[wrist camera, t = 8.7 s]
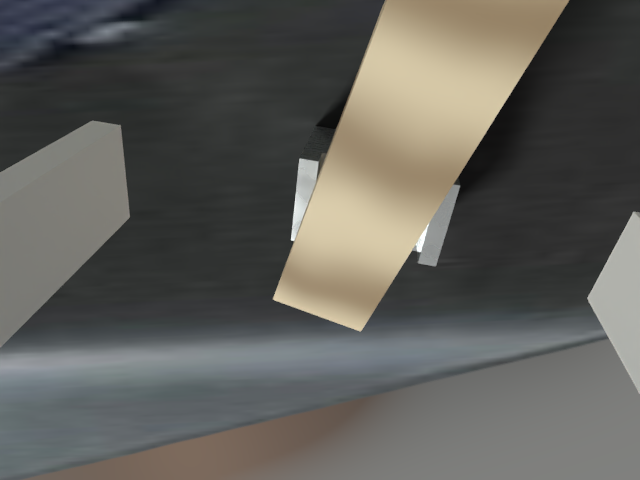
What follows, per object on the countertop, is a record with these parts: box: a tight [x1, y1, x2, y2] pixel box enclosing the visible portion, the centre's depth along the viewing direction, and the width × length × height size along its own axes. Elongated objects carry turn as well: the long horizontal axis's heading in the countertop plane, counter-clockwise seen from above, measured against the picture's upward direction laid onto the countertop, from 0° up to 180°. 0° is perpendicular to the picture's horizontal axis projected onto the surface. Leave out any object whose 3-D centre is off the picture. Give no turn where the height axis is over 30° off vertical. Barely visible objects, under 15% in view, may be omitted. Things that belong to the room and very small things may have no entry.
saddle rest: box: [291, 126, 460, 266], centre depth 34 cm, size 10×6×6 cm, turn 83°
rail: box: [273, 0, 569, 331], centre depth 22 cm, size 20×5×8 cm, turn 161°
